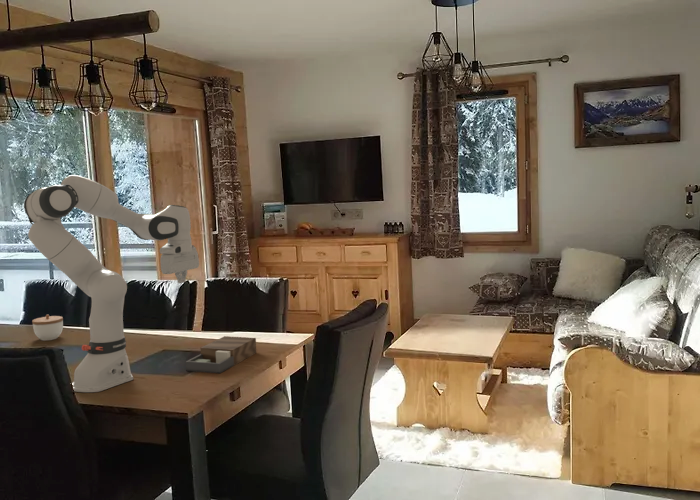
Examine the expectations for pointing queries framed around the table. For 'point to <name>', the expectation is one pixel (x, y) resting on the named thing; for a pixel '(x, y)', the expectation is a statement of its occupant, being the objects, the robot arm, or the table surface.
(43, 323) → the lidded bowl
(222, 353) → the cream tile
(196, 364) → the box
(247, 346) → the brown flat block
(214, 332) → the table surface
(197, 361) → the sage tile
